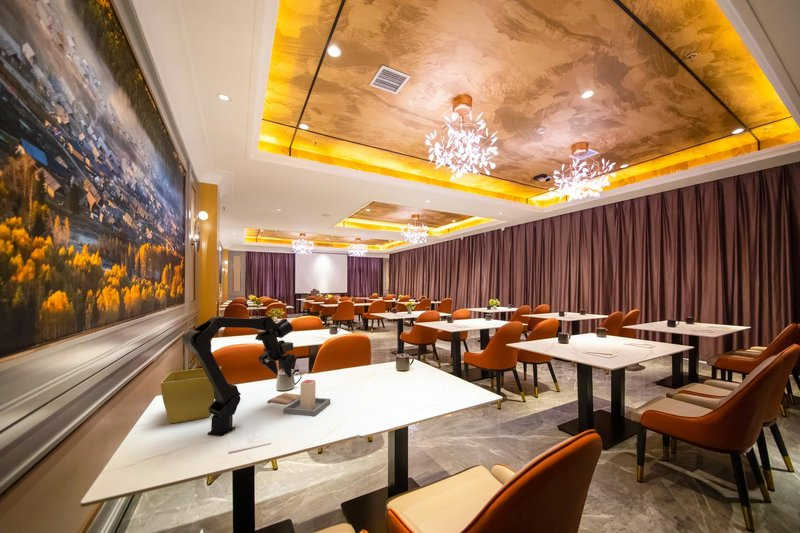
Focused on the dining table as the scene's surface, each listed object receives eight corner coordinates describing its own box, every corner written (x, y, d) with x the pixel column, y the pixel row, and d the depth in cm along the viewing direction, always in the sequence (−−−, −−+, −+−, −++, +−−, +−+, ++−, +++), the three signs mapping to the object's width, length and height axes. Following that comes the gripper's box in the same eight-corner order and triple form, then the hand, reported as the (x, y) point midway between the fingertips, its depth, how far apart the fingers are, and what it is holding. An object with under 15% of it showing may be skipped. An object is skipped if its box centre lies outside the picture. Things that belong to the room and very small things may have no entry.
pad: (287, 405, 135) (287, 403, 135) (267, 402, 139) (267, 400, 139) (303, 397, 145) (303, 395, 145) (284, 394, 149) (284, 392, 149)
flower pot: (168, 411, 130) (170, 371, 132) (220, 403, 139) (221, 365, 140) (157, 429, 113) (159, 383, 115) (217, 419, 122) (218, 375, 123)
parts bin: (314, 417, 122) (314, 411, 122) (283, 414, 125) (283, 408, 126) (330, 404, 136) (330, 398, 136) (302, 402, 139) (302, 396, 139)
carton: (309, 410, 128) (310, 383, 129) (300, 409, 129) (300, 382, 130) (315, 406, 132) (315, 379, 133) (305, 405, 133) (306, 379, 134)
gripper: (300, 335, 130) (311, 367, 134) (273, 332, 141) (284, 362, 145) (278, 350, 121) (291, 383, 125) (252, 345, 132) (264, 376, 136)
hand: (283, 375), depth 133 cm, fingers open, 9 cm apart
